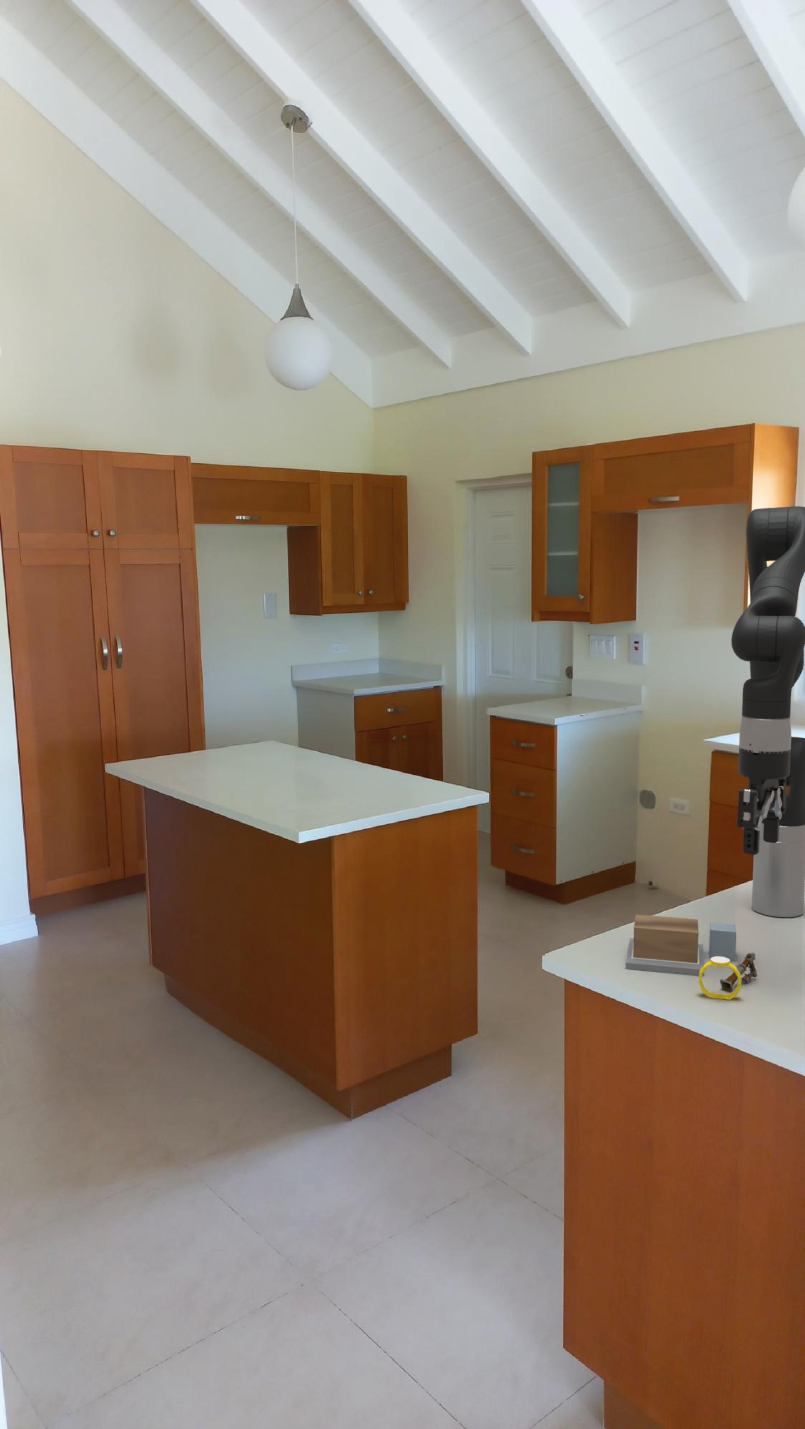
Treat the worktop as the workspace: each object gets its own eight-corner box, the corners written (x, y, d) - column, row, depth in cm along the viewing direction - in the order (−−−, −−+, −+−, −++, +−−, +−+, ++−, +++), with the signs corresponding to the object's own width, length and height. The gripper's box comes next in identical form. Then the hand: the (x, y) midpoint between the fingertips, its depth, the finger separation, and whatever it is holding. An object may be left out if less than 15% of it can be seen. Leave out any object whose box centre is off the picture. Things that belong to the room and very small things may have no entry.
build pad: (629, 943, 171) (629, 937, 171) (702, 950, 168) (702, 943, 168) (625, 968, 160) (626, 962, 160) (704, 976, 157) (704, 969, 157)
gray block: (708, 951, 168) (709, 922, 167) (733, 953, 167) (735, 924, 166) (709, 959, 164) (710, 929, 164) (735, 961, 163) (736, 932, 162)
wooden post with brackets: (763, 973, 156) (758, 950, 154) (735, 1005, 151) (729, 982, 150) (753, 970, 157) (747, 947, 155) (725, 1001, 153) (719, 978, 151)
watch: (699, 1000, 148) (697, 961, 148) (699, 993, 151) (697, 955, 150) (741, 1002, 146) (740, 963, 146) (741, 995, 149) (740, 956, 148)
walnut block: (635, 943, 169) (635, 914, 168) (696, 948, 166) (697, 919, 165) (633, 957, 162) (633, 927, 161) (697, 963, 159) (698, 932, 159)
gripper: (757, 737, 162) (753, 835, 164) (723, 749, 151) (719, 853, 153) (804, 741, 157) (800, 842, 159) (772, 754, 146) (768, 861, 149)
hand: (761, 847), depth 156 cm, fingers open, 8 cm apart
